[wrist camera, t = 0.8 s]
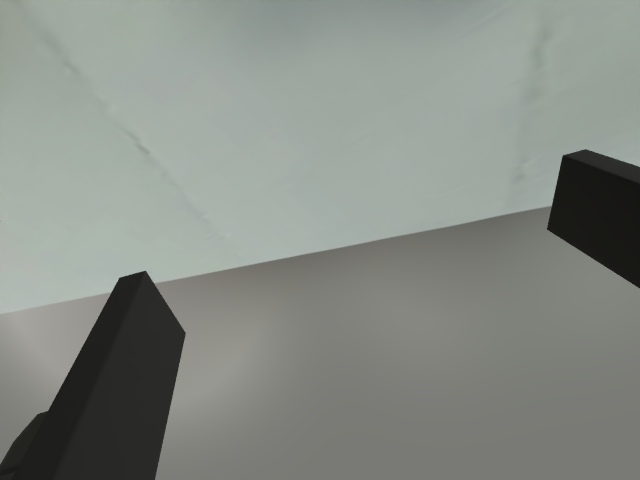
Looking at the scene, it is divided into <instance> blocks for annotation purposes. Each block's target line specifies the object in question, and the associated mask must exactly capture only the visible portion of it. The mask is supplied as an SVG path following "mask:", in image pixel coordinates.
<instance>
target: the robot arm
mask: <svg viewBox="0 0 640 480" xmlns="http://www.w3.org/2000/svg"><path fill="white" fill-rule="evenodd" d="M547 230H549V231H550V232H552V233H553V234H555V235H557V236H558V237H560V238H561V239H563V240H565V241H566V242H568V243H569V244H571V245H572V246H574V247H576V248H577V249H579V250H581V251H582V252H584V253H585V254H587V255H588V256H590V257H591V258H593V259H594V260H596V261H598V262H599V263H601V264H602V265H604V266H605V267H607V268H609V269H610V270H612V271H614V272H615V273H616V274H618V275H620V276H621V277H623V278H624V279H626V280H627V281H629V282H631V283H632V284H634V285H635V286H637V287H638V288H640V167H638V166H635V165H632V164H629V163H626V162H623V161H620V160H617V159H614V158H611V157H608V156H605V155H601V154H598V153H595V152H592V151H589V150H586V149H585V150H581V151H578V152H574V153H570V154H567V155H563V157H562V162H561V166H560V171H559V176H558V180H557V185H556V190H555V194H554V199H553V204H552V209H551V213H550V218H549V223H548V227H547ZM184 339H185V331H184V330H183V328H182V327H181V325H180V324H179V322H178V321H177V319H176V317H175V316H174V314H173V313H172V311H171V309H170V308H169V306H168V305H167V303H166V302H165V300H164V299H163V297H162V295H161V294H160V292H159V291H158V289H157V288H156V286H155V284H154V283H153V281H152V280H151V278H150V277H149V275H148V274H147V272H146V271H143V272H139V273H135V274H132V275H128V276H124V277H121V278H119V280H118V282H117V284H116V285H115V287H114V289H113V291H112V293H111V295H110V297H109V299H108V300H107V302H106V304H105V306H104V308H103V310H102V312H101V313H100V315H99V317H98V319H97V321H96V323H95V325H94V327H93V328H92V330H91V332H90V334H89V336H88V338H87V340H86V341H85V343H84V345H83V347H82V349H81V351H80V353H79V354H78V356H77V358H76V360H75V362H74V364H73V366H72V368H71V370H70V372H69V373H68V375H67V377H66V379H65V381H64V383H63V384H62V386H61V388H60V390H59V392H58V394H57V395H56V397H55V399H54V401H53V403H52V405H51V407H50V409H49V410H48V411H47V412H44V413H40V414H38V415H37V416H36V417H35V418H34V419H33V420H32V422H30V424H29V425H28V426H27V427H26V428H25V429H24V430H23V432H22V433H21V434H20V435H19V436H18V437H17V438H16V440H15V441H14V442H13V444H12V446H11V447H10V449H9V451H8V452H7V454H6V456H5V458H4V459H3V461H2V463H1V464H0V480H155V476H156V471H157V467H158V462H159V457H160V452H161V448H162V443H163V438H164V434H165V429H166V424H167V419H168V415H169V410H170V405H171V400H172V395H173V390H174V386H175V381H176V377H177V372H178V367H179V362H180V357H181V352H182V348H183V343H184Z"/></svg>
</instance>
